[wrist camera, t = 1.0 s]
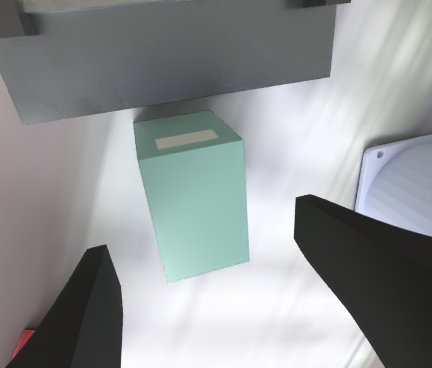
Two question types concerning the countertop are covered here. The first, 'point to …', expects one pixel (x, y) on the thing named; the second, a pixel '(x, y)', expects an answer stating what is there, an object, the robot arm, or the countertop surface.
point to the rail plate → (155, 51)
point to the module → (194, 192)
